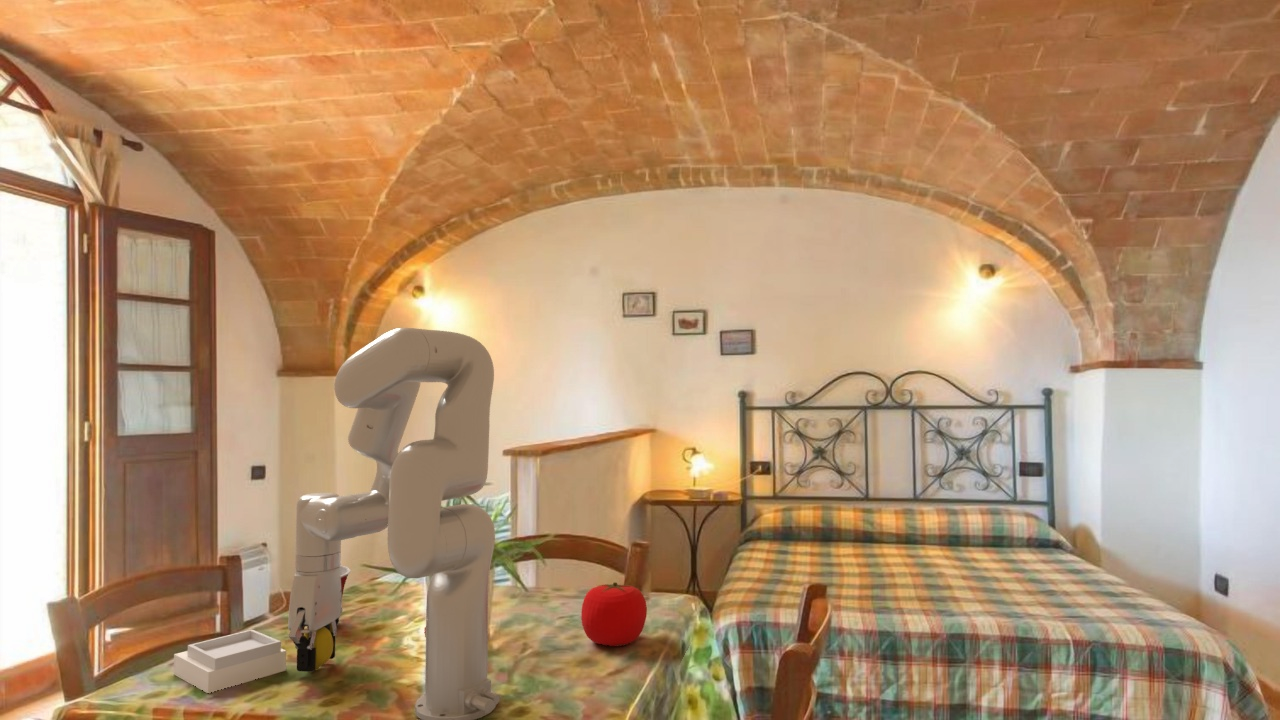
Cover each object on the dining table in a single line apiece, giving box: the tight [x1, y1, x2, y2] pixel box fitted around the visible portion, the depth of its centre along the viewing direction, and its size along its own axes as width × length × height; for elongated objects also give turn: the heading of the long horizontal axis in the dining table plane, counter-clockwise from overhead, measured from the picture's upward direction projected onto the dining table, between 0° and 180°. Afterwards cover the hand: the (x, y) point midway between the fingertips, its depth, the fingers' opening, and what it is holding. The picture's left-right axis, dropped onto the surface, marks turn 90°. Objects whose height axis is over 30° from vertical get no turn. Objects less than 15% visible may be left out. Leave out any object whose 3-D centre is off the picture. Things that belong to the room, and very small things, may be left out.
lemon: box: [304, 627, 333, 671], centre depth 132 cm, size 6×6×8 cm
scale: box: [173, 629, 287, 694], centre depth 131 cm, size 14×13×5 cm
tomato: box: [580, 582, 648, 647], centre depth 147 cm, size 13×14×12 cm
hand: (316, 663), depth 132 cm, fingers closed on lemon, 5 cm apart
